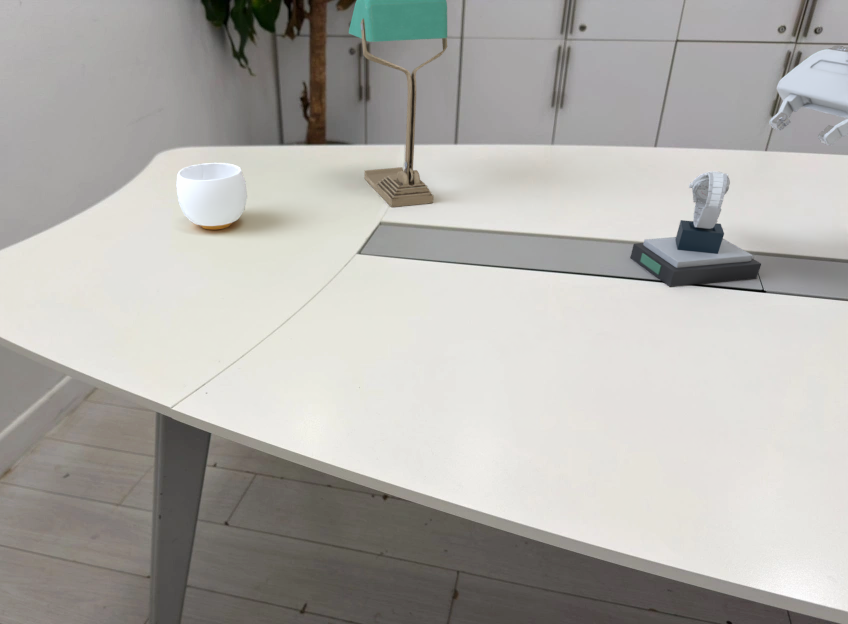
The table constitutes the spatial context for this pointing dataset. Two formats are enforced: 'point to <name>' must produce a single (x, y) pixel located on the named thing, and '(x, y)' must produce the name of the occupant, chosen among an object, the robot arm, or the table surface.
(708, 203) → the watch
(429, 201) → the banker's lamp
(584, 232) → the table surface
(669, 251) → the scale
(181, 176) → the cup
